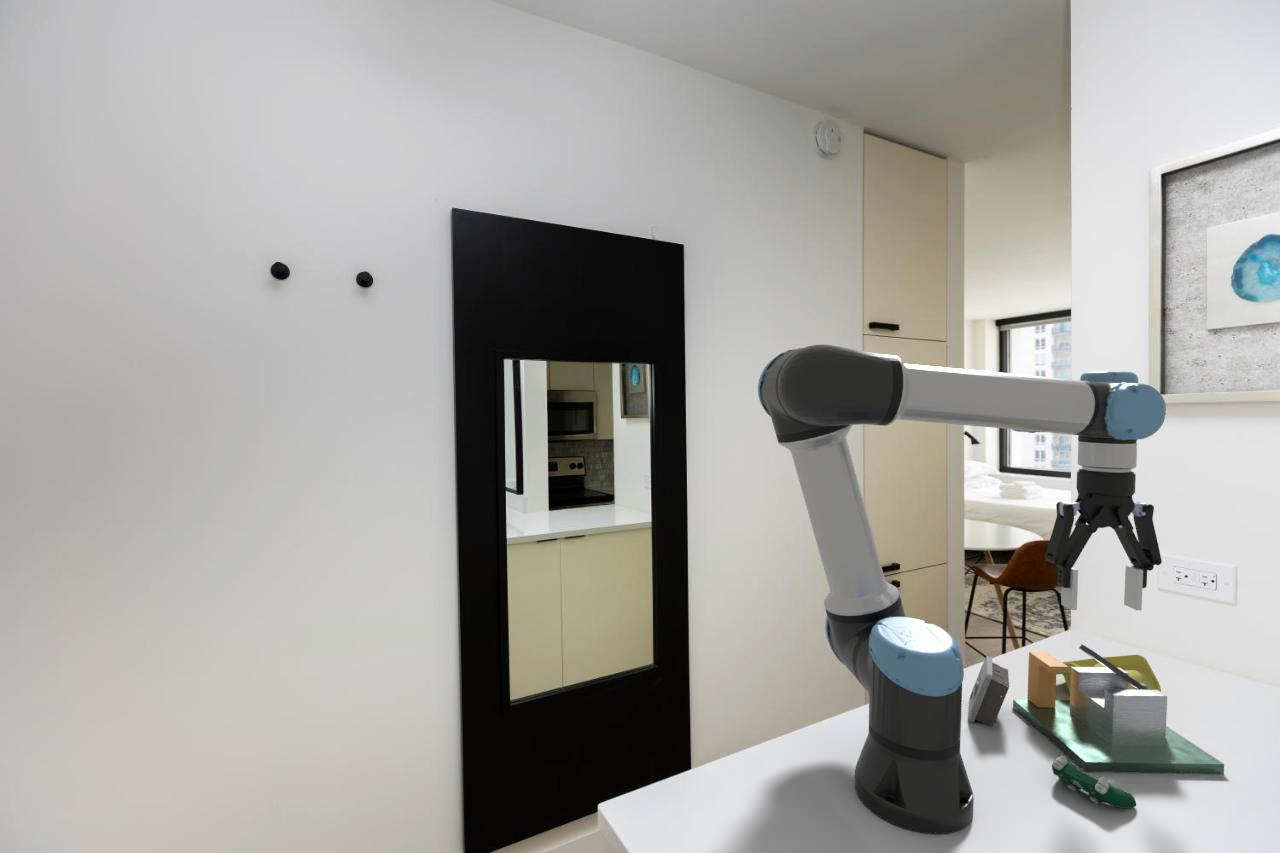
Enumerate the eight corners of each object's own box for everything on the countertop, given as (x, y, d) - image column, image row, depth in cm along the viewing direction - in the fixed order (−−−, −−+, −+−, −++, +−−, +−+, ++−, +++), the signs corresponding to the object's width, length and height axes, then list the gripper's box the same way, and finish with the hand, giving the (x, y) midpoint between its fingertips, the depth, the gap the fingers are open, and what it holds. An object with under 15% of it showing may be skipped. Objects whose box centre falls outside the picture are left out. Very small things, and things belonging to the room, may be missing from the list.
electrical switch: (969, 700, 115) (976, 651, 114) (1001, 709, 112) (1008, 660, 111) (967, 723, 107) (975, 672, 106) (1002, 734, 104) (1010, 681, 103)
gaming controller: (1058, 786, 93) (1040, 766, 91) (1070, 764, 93) (1052, 743, 92) (1127, 826, 84) (1109, 804, 82) (1140, 801, 85) (1122, 779, 83)
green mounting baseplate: (1085, 771, 93) (1087, 709, 92) (1012, 707, 112) (1014, 655, 111) (1223, 773, 92) (1226, 711, 92) (1127, 708, 111) (1129, 656, 111)
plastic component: (1097, 657, 128) (1149, 653, 119) (1112, 697, 125) (1165, 695, 116) (1030, 666, 120) (1080, 662, 112) (1043, 708, 117) (1096, 707, 109)
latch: (1048, 716, 106) (1050, 666, 105) (1027, 698, 112) (1028, 651, 111) (1066, 716, 106) (1068, 666, 105) (1044, 699, 112) (1046, 651, 111)
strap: (1089, 655, 100) (1093, 650, 100) (1078, 648, 103) (1082, 643, 103) (1157, 703, 100) (1161, 698, 100) (1145, 695, 103) (1149, 690, 103)
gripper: (1158, 466, 103) (1152, 600, 104) (1021, 466, 104) (1017, 599, 105) (1197, 471, 96) (1190, 616, 97) (1050, 471, 96) (1045, 615, 98)
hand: (1100, 607), depth 101 cm, fingers open, 9 cm apart
